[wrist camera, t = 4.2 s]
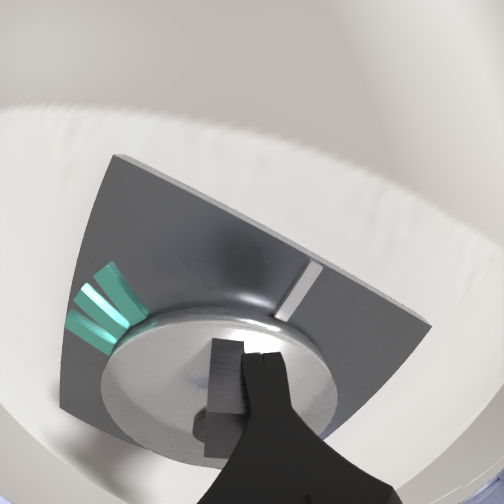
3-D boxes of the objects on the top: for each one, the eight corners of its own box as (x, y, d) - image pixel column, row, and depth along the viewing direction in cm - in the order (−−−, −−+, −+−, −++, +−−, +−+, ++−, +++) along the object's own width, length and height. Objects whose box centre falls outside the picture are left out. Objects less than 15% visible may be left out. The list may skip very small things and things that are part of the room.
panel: (269, 466, 18) (271, 479, 17) (65, 397, 14) (58, 410, 13) (421, 316, 14) (434, 329, 12) (124, 154, 10) (110, 154, 9)
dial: (297, 450, 15) (309, 506, 11) (128, 436, 14) (113, 493, 9) (360, 316, 12) (413, 390, 7) (94, 287, 10) (34, 357, 6)
